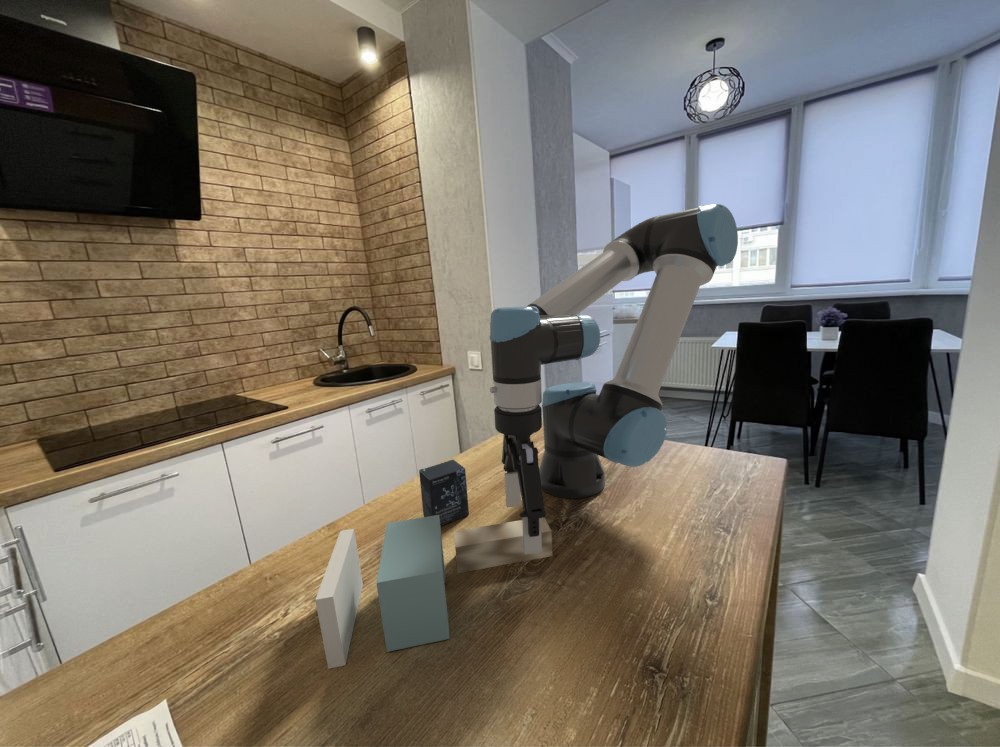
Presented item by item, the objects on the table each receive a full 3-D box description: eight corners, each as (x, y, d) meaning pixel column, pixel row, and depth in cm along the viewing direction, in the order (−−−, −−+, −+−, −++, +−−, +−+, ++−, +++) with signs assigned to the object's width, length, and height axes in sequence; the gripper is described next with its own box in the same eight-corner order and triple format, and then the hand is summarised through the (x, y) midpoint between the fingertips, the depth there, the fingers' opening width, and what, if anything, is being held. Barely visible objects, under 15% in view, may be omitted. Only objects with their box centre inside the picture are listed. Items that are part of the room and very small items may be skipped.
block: (445, 571, 64) (439, 514, 62) (449, 638, 51) (442, 571, 49) (394, 580, 62) (386, 523, 60) (386, 651, 50) (376, 582, 48)
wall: (362, 584, 62) (354, 528, 60) (345, 665, 49) (333, 596, 47) (349, 587, 62) (340, 530, 60) (328, 669, 48) (315, 599, 46)
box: (434, 530, 75) (429, 479, 73) (423, 517, 80) (417, 469, 78) (470, 515, 80) (465, 467, 77) (457, 503, 84) (453, 458, 82)
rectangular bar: (544, 541, 70) (543, 516, 69) (552, 557, 66) (551, 530, 65) (456, 556, 68) (453, 531, 67) (457, 574, 64) (455, 547, 62)
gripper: (483, 389, 73) (489, 493, 78) (510, 434, 49) (516, 581, 53) (522, 386, 75) (525, 488, 79) (567, 428, 51) (569, 572, 55)
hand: (522, 526), depth 66 cm, fingers open, 13 cm apart
